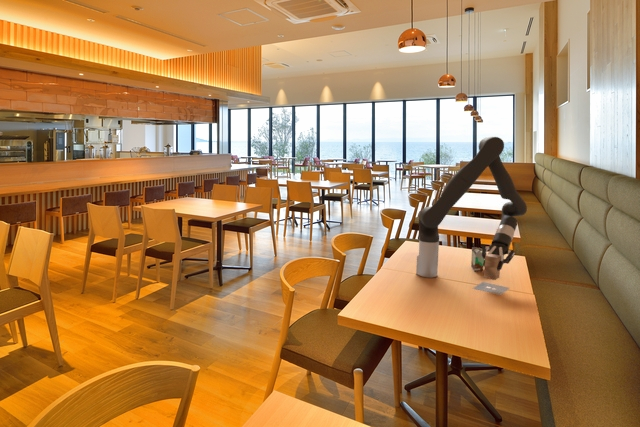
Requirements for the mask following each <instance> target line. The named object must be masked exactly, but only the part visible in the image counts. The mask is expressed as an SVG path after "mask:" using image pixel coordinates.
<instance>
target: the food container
mask: <svg viewBox="0 0 640 427" xmlns="http://www.w3.org/2000/svg"><path fill="white" fill-rule="evenodd" d="M487 254H488V253H486V255H487ZM484 260H485V259H483V257H482V248H480V247H475V246H474V247H471V261H470V262H471V265H470V266H471V268H472V270H473V272H475V273H476V272H484V265H483V263H484Z"/></svg>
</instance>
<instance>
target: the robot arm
mask: <svg viewBox="0 0 640 427" xmlns="http://www.w3.org/2000/svg"><path fill="white" fill-rule="evenodd" d="M479 141H480V142H479V143H478V152H477V153H476V154H475V156H474V157H473V158H472V159H471V160H470V161H468V162H467V163H465V165H463V166H462V167H461V168H459V169H458V170H457V171H456V172H455V173H454V175H453V176H452V177H451V178H450V179H449V180H448V182H447V183H446V185H445V187H444V189H443V191H442V193H441V194H440V196H439V197H438V199H437V200H436V201H435V202H434V203H433V204H432V205H431V206H426V207H423V208H422V209H421V211H420V212H419V215H418V235H419V236H418V238H419V241H418V254H417V255H416V266H415V267H416V268H415V272H416V273H415V274H416V275H418V276H420V277H422V278H429V279H430V278H436V277H437V276H438V268H439V250H440V248H439V247H440V233H439V225H441V223H442V222H443V220H444V219H445V218H446V216H447V215H448V213H449V212H450V210H452V208H453V207H454V205H456V204H457V203H458V202H459V201H460V200H461V198H462V197H463V196H464V195H465V194H466V193H467V192H468V191H469V190H470V188H471V187H473V185H474V183H476V181H477V180H478V178H480V176H481V175H482V173H483V172H484V171H485V170H486V169H487V167H488V168H489V171H490V172H491V174H492V177H493V179H494V181H495V185H496V186H497V187H496V188H497V189H498V190H497V191H498V192H499V194H500V197H501V199H503V200H507V202H505V203H503V205H502V207H501V216H500V217H501V220H500V222H499V225H498V227H497V228H496V231H495V233H494V236H493V238H492V241H491V244H490V245H489V246H487V245H484V244H483V245H482V248H481V249H482V257H483V259H485V256H486V254H487V255H488V254H496V255H500V256H501V258H500V261H499V264H498V266H497V270H498V271H499V270H500V271H501V270H502V269H503V266H504V264H509V263H510V262H511V260H513V258H514V257H515V254H516V253H515V251H514V250H512V249H511V250H510V246H511V244H512V241H513V240H514V236H515V231H516V228H517V226H518V219H517V218H516V217H521V216H524V215H525V214H526V213H527V212H528V210H527V209H528V206H527V204H526V202H525V200H524V199H523V197H522V196H521V195H520V194H519V192H518V191H517V188H516V187H515V183H514V181H513V179H512V176H511V175H510V174H509V172H508V171H507V169H506V167H505V166H504V164H503V162H502V159H501V157H500V155H501V154H502V153H503V152H504V148H505V142H504V140H503V139H502V138H500V137H498V136H487V137H483V139H481V140H479ZM508 200H509V201H508ZM487 252H488V253H487ZM506 254H507V256H506V257H505V255H506ZM483 265H484V267H485V260H484V263H483ZM484 267H483V268H484Z"/></svg>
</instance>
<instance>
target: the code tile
mask: <svg viewBox="0 0 640 427" xmlns="http://www.w3.org/2000/svg"><path fill="white" fill-rule="evenodd" d="M472 289H473V290H477V291H480V292H481V291H482V292H486V293H489V294H494V295H497V296H502V295H503V294H504V293H505V292H507V291H508V290H510V287H508V286H503V285H499V284H495V283H491V282H485V281H482V282H481V283H479V284H477V285H476V286H474V287H473V288H472Z"/></svg>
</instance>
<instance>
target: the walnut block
mask: <svg viewBox="0 0 640 427" xmlns="http://www.w3.org/2000/svg"><path fill="white" fill-rule="evenodd" d="M487 254H488V253H487ZM500 258H501V256H500V255H496V254H488V255H486V256H485V267H483V278H484V279H489V280H493V281H496V280H498V279H500V273H501V270H499V271H498V270H497V266H498V264H499V261H500Z"/></svg>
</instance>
